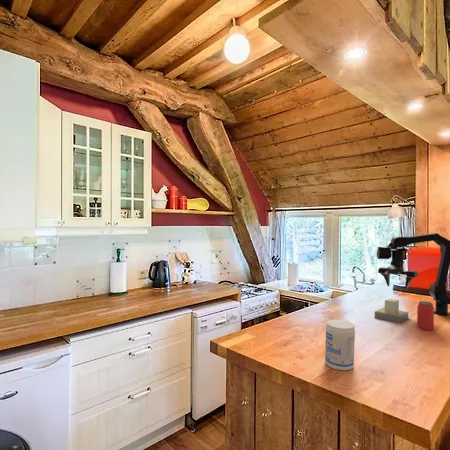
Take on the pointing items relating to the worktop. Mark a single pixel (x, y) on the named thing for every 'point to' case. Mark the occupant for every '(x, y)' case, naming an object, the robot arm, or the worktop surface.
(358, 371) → the worktop surface
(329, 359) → the supplement tub
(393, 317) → the slate base
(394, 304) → the cream block
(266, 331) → the worktop surface
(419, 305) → the beer can
